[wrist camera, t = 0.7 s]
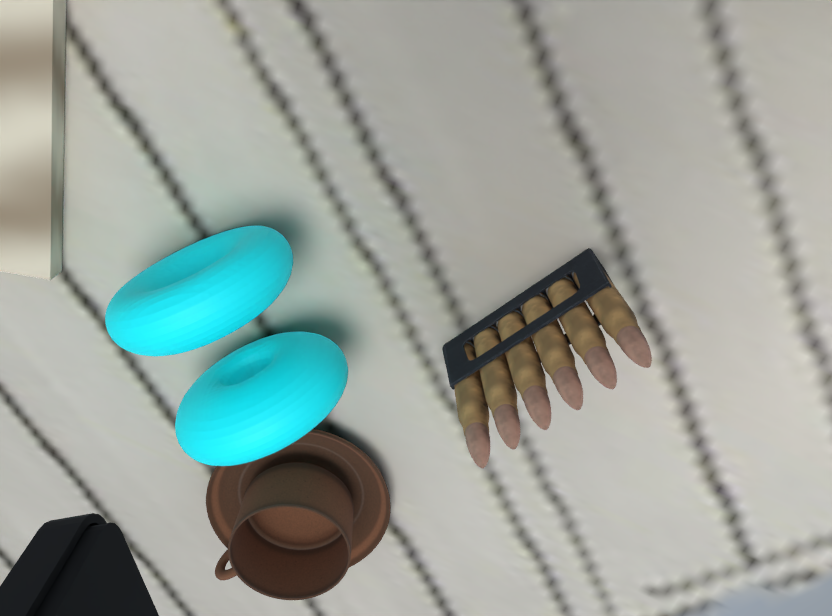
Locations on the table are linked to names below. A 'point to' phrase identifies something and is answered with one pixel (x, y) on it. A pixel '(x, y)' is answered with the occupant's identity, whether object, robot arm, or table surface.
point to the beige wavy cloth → (32, 136)
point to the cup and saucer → (298, 516)
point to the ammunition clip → (539, 351)
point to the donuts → (245, 367)
